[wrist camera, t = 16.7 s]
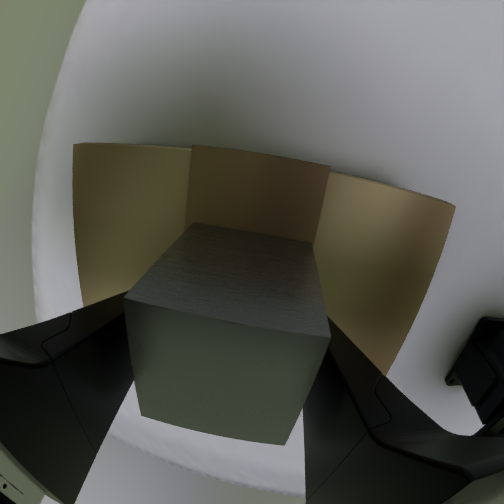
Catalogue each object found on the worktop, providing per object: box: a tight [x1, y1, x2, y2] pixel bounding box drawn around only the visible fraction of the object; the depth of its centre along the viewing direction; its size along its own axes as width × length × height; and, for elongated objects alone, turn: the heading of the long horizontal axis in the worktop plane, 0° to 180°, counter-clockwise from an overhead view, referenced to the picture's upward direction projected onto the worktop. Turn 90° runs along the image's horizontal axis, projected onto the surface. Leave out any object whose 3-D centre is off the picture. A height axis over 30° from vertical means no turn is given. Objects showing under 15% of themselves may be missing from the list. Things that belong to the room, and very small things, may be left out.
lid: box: [73, 143, 456, 376], centre depth 11 cm, size 14×9×1 cm, turn 82°
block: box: [123, 222, 331, 445], centre depth 8 cm, size 4×4×5 cm
